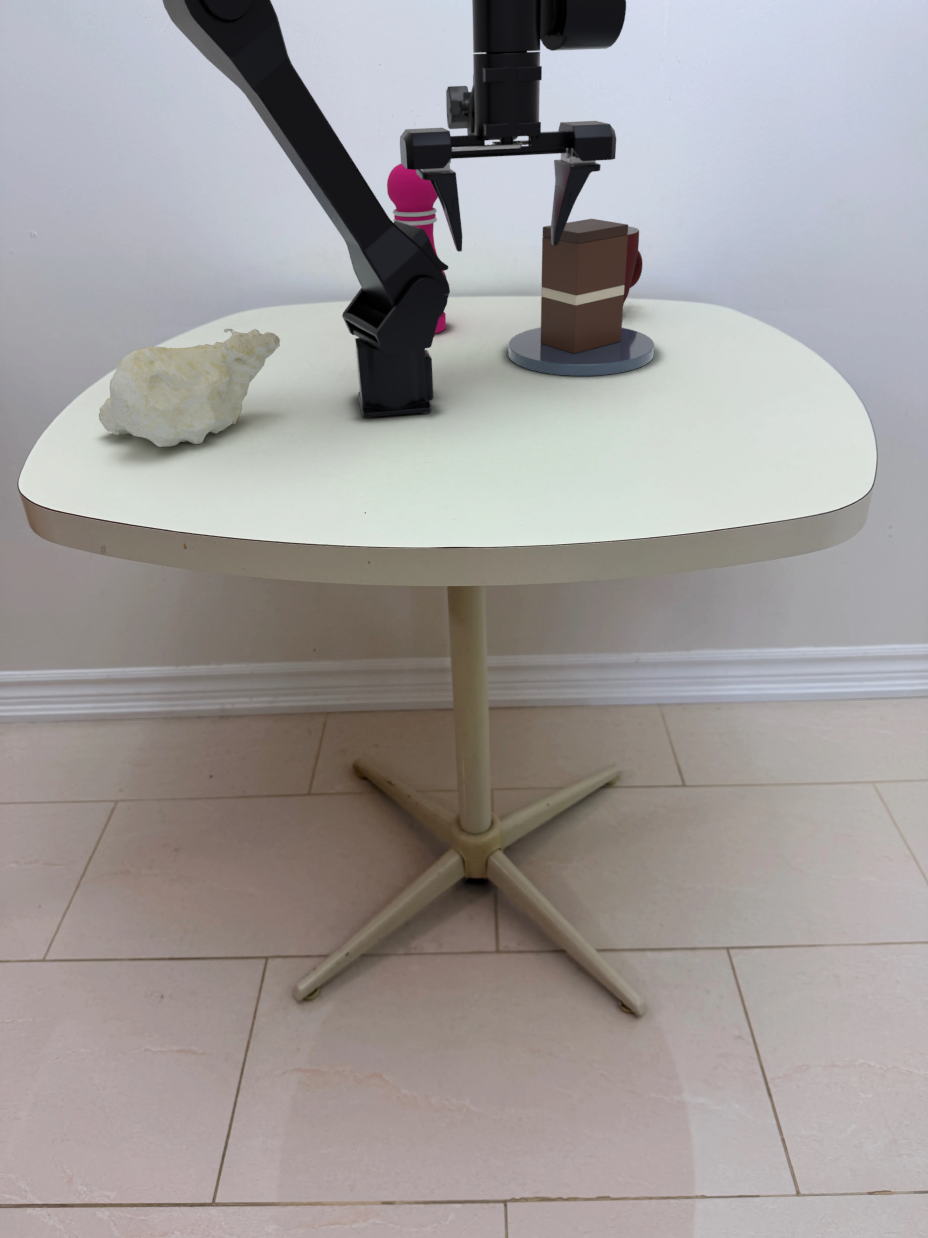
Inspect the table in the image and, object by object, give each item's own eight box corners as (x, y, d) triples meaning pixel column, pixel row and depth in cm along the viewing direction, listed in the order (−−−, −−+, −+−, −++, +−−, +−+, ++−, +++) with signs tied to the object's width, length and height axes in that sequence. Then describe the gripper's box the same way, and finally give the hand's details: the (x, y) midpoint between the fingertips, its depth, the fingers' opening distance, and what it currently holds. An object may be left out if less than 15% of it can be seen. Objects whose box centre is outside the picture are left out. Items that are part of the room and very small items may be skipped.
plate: (526, 381, 92) (526, 369, 92) (495, 339, 106) (495, 329, 105) (675, 369, 94) (676, 357, 94) (626, 329, 108) (627, 319, 107)
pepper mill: (461, 325, 111) (456, 143, 100) (428, 339, 106) (419, 149, 95) (413, 318, 115) (403, 141, 104) (379, 332, 109) (365, 147, 99)
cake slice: (574, 353, 96) (578, 232, 89) (540, 343, 99) (542, 226, 93) (621, 341, 99) (628, 224, 93) (586, 331, 103) (591, 218, 96)
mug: (606, 300, 120) (611, 219, 114) (657, 310, 115) (664, 225, 110) (555, 316, 113) (558, 231, 108) (607, 327, 109) (612, 238, 103)
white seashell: (93, 489, 77) (196, 388, 69) (54, 415, 77) (152, 307, 70) (218, 477, 90) (316, 391, 83) (184, 414, 91) (279, 323, 83)
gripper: (586, 49, 84) (579, 228, 93) (388, 55, 82) (399, 238, 90) (623, 48, 75) (612, 247, 84) (401, 56, 73) (412, 260, 81)
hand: (507, 247), depth 85 cm, fingers open, 9 cm apart
